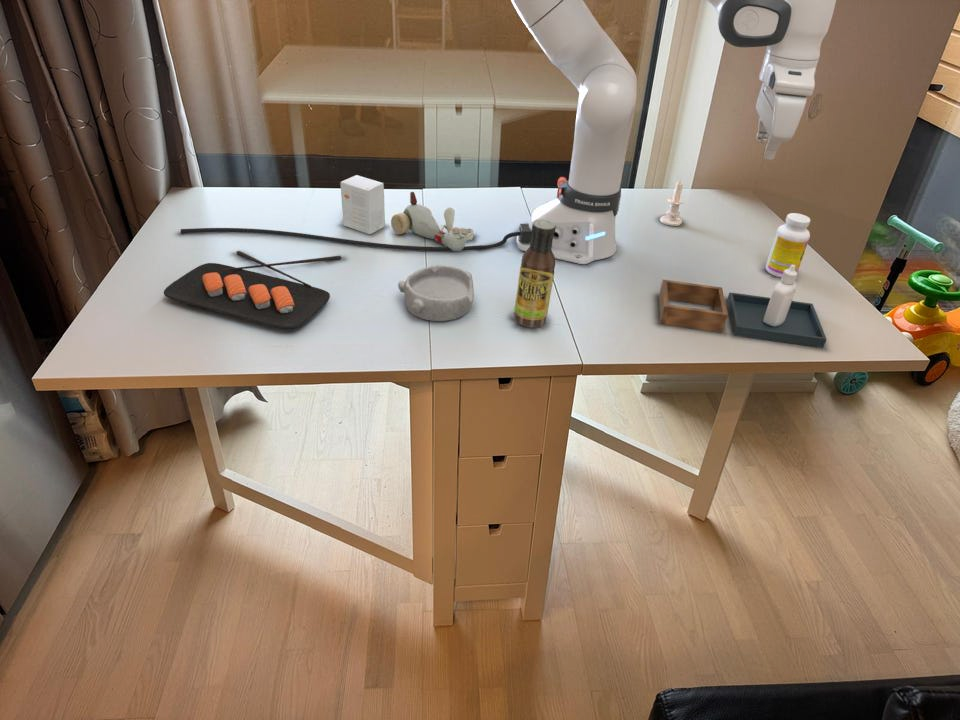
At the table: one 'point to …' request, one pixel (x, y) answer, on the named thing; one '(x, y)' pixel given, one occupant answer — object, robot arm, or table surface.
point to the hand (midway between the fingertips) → (764, 149)
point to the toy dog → (430, 225)
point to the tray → (794, 329)
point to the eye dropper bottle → (781, 298)
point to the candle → (673, 208)
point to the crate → (692, 315)
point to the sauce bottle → (536, 276)
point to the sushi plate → (251, 293)
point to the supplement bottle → (789, 244)
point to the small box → (363, 204)
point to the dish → (438, 292)
